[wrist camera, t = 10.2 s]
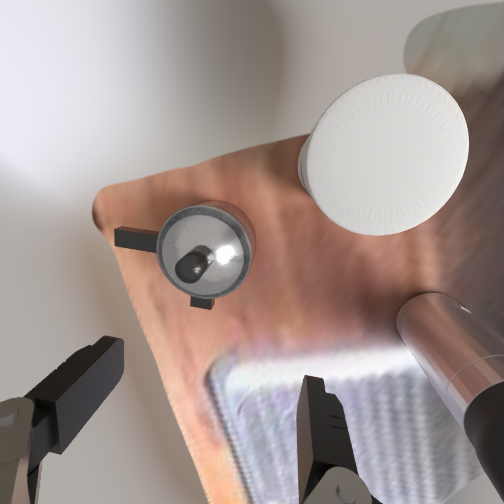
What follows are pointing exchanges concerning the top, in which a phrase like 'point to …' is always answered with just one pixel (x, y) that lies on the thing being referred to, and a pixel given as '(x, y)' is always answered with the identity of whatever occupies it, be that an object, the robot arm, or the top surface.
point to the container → (385, 154)
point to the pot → (154, 240)
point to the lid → (203, 254)
